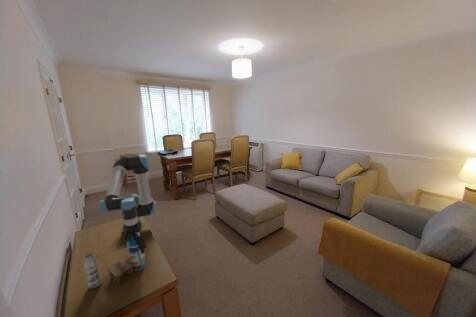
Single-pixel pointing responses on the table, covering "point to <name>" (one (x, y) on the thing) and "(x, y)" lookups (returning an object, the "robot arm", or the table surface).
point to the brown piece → (120, 269)
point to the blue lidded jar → (135, 255)
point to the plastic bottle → (92, 271)
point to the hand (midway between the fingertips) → (136, 253)
